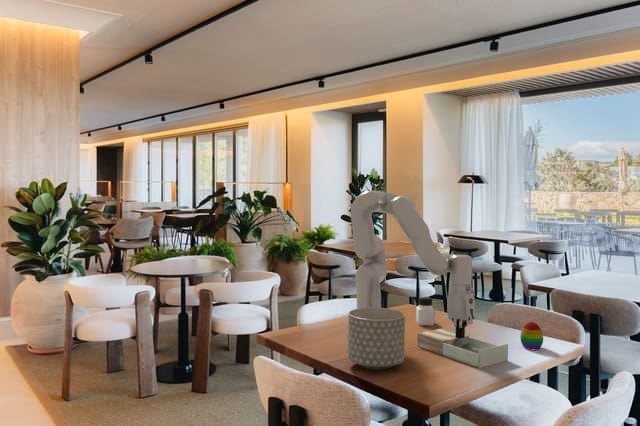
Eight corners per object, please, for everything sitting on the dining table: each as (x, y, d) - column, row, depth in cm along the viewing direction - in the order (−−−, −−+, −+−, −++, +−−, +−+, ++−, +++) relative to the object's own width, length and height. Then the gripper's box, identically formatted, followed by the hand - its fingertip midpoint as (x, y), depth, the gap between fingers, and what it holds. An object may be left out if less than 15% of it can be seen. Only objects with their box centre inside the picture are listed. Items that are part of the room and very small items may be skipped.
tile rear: (453, 347, 191) (457, 352, 189) (459, 338, 188) (464, 344, 187) (462, 345, 194) (466, 350, 192) (468, 336, 191) (473, 342, 189)
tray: (479, 368, 174) (479, 350, 174) (442, 355, 188) (443, 339, 188) (507, 360, 182) (508, 343, 182) (470, 348, 196) (470, 333, 196)
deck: (442, 354, 189) (442, 341, 189) (417, 345, 200) (417, 333, 200) (468, 348, 197) (468, 335, 196) (442, 340, 207) (443, 328, 207)
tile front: (460, 347, 187) (460, 354, 187) (470, 351, 183) (470, 358, 183) (470, 345, 190) (469, 352, 190) (480, 349, 185) (480, 356, 185)
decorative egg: (521, 343, 204) (521, 318, 204) (543, 346, 201) (544, 320, 200) (519, 349, 197) (519, 323, 196) (542, 352, 193) (543, 325, 193)
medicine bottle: (434, 325, 232) (434, 299, 231) (418, 325, 232) (419, 298, 231) (431, 321, 239) (431, 296, 238) (415, 321, 239) (416, 295, 238)
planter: (414, 373, 169) (414, 318, 168) (359, 378, 164) (360, 321, 163) (390, 355, 187) (390, 306, 187) (340, 360, 182) (341, 309, 181)
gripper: (484, 290, 186) (483, 340, 187) (452, 284, 199) (451, 331, 199) (470, 292, 182) (469, 344, 183) (438, 286, 194) (437, 334, 195)
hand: (460, 337), depth 191 cm, fingers closed
